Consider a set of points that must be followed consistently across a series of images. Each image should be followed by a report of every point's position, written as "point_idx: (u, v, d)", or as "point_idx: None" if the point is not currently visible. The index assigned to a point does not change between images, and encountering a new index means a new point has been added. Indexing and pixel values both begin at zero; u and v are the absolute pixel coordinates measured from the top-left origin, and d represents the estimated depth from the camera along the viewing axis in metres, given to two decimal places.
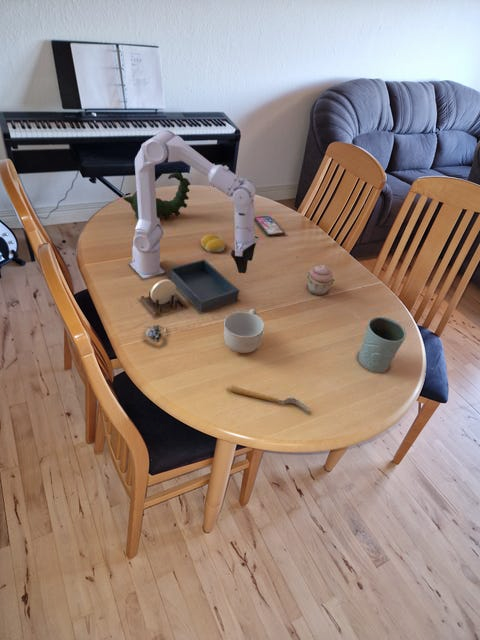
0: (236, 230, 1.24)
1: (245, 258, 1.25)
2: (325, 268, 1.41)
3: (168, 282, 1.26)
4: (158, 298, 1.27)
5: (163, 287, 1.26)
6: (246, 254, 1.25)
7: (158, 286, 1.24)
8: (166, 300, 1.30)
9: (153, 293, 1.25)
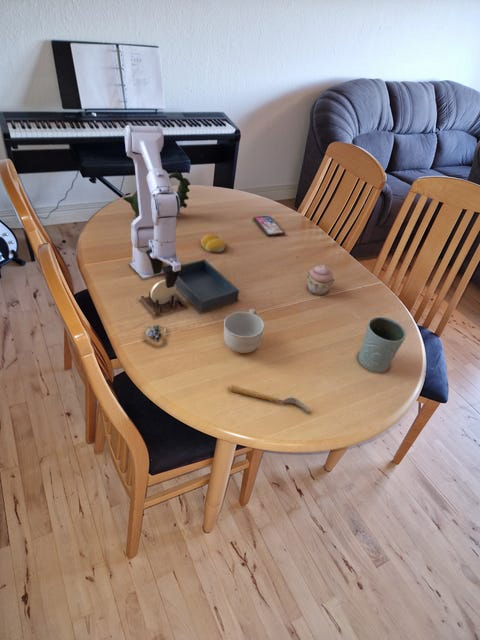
0: None
1: None
2: (325, 268, 1.41)
3: None
4: (158, 298, 1.27)
5: (163, 287, 1.26)
6: (149, 251, 1.22)
7: (158, 286, 1.24)
8: (166, 300, 1.30)
9: (153, 293, 1.25)
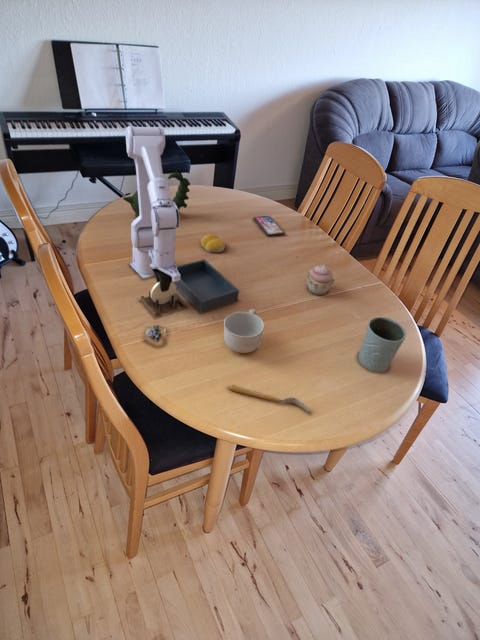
0: None
1: None
2: (325, 268, 1.41)
3: None
4: (158, 298, 1.27)
5: None
6: None
7: (158, 286, 1.24)
8: (166, 300, 1.30)
9: (153, 293, 1.25)
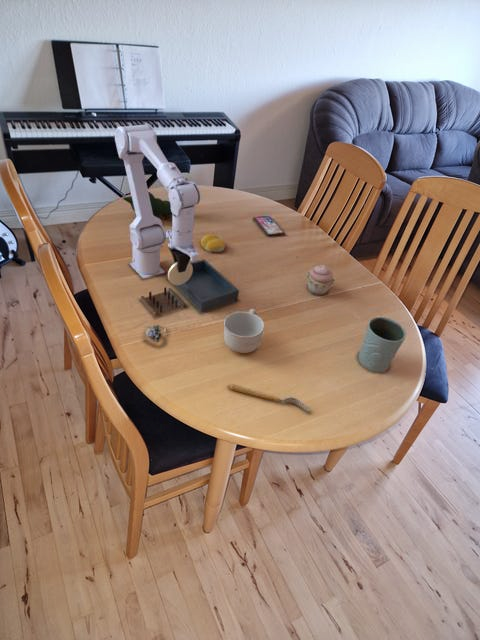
0: None
1: None
2: (325, 268, 1.41)
3: None
4: (175, 279, 1.27)
5: None
6: None
7: (175, 267, 1.25)
8: (183, 281, 1.30)
9: (171, 273, 1.25)
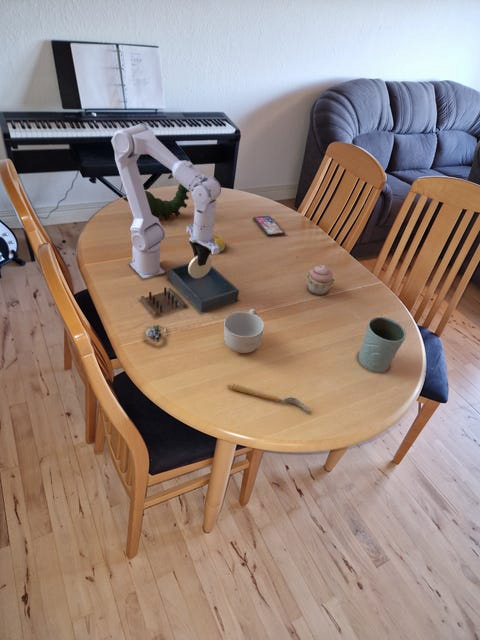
0: None
1: None
2: (325, 268, 1.41)
3: None
4: (195, 272, 1.31)
5: None
6: None
7: (196, 260, 1.29)
8: (202, 275, 1.34)
9: (191, 267, 1.29)
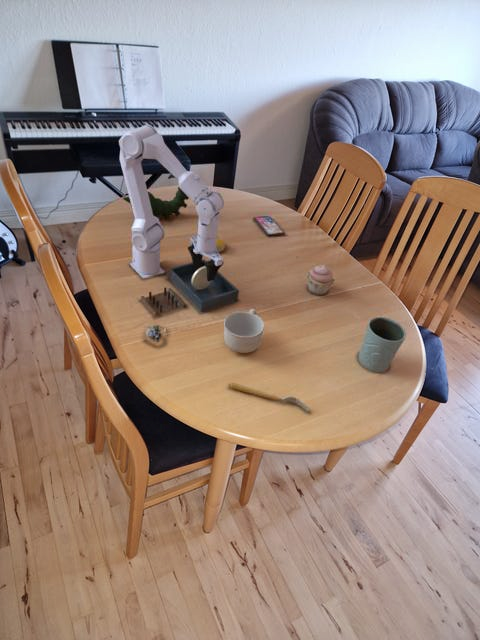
0: None
1: None
2: (325, 268, 1.41)
3: None
4: (198, 284, 1.35)
5: (203, 274, 1.34)
6: (191, 247, 1.32)
7: (199, 273, 1.33)
8: (205, 286, 1.38)
9: (194, 279, 1.33)
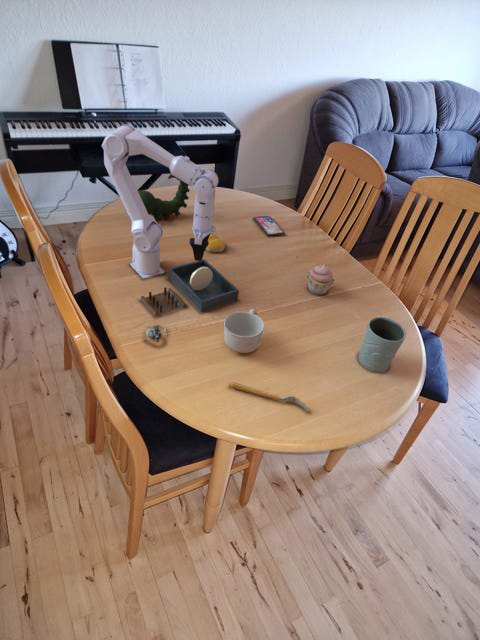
0: (196, 218, 1.26)
1: (204, 247, 1.27)
2: (325, 268, 1.41)
3: (205, 269, 1.33)
4: (197, 285, 1.35)
5: (200, 275, 1.33)
6: (205, 243, 1.27)
7: (196, 274, 1.32)
8: (205, 285, 1.38)
9: (192, 281, 1.33)
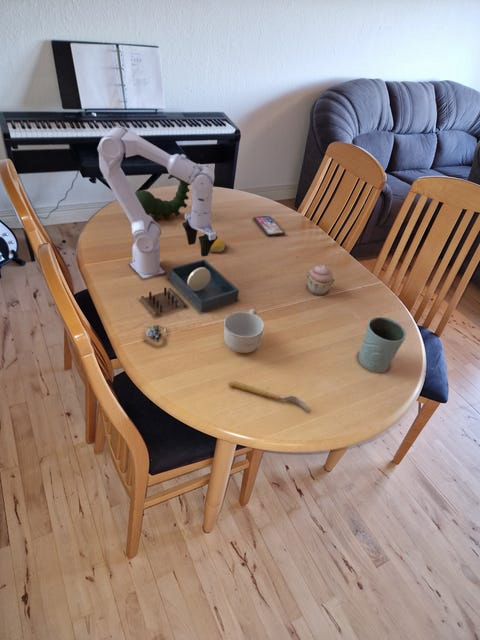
0: (199, 216, 1.27)
1: (214, 240, 1.31)
2: (325, 268, 1.41)
3: (200, 270, 1.32)
4: (196, 286, 1.35)
5: (197, 276, 1.33)
6: None
7: (192, 277, 1.32)
8: (204, 285, 1.37)
9: (190, 284, 1.33)
